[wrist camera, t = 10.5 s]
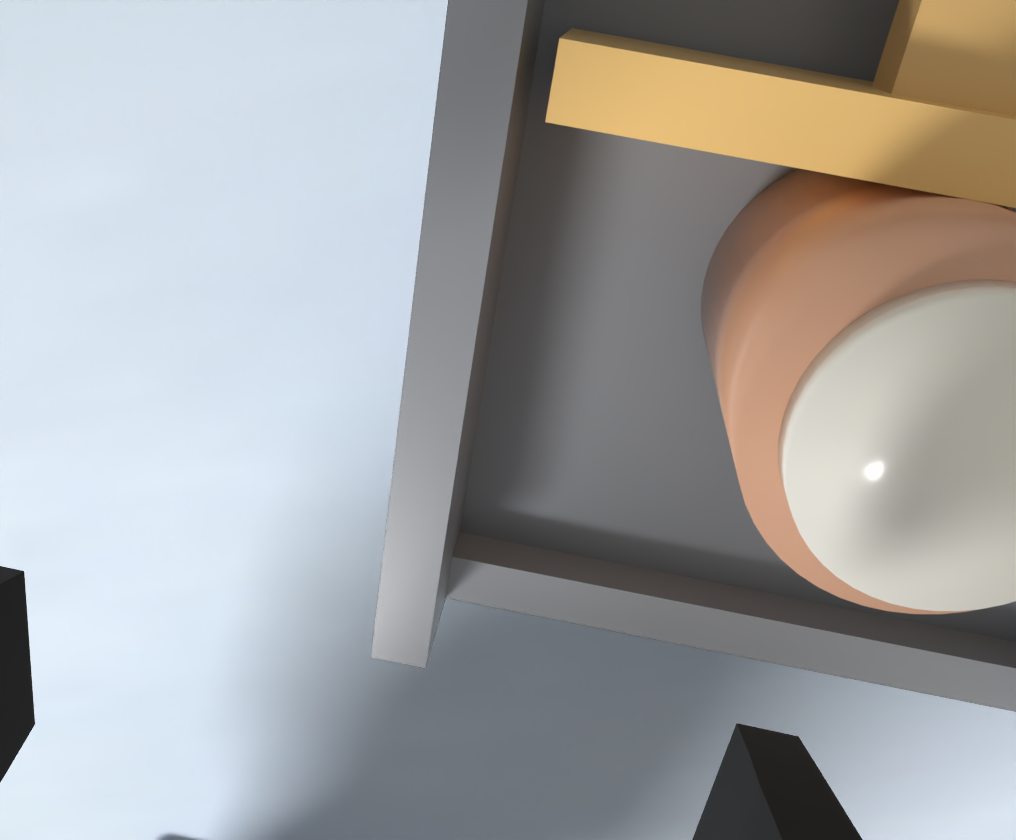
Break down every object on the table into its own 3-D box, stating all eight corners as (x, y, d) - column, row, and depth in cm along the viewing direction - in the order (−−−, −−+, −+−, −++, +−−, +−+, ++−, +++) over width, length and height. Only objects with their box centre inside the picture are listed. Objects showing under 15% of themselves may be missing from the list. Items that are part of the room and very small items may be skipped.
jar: (946, 452, 17) (1103, 674, 11) (674, 409, 17) (700, 607, 11) (1052, 176, 14) (1309, 288, 9) (737, 131, 15) (805, 214, 9)
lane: (1066, 678, 19) (1154, 815, 16) (411, 549, 19) (370, 657, 16) (1975, -945, 9) (2662, -1417, 6) (636, -1131, 10) (644, -1659, 7)
